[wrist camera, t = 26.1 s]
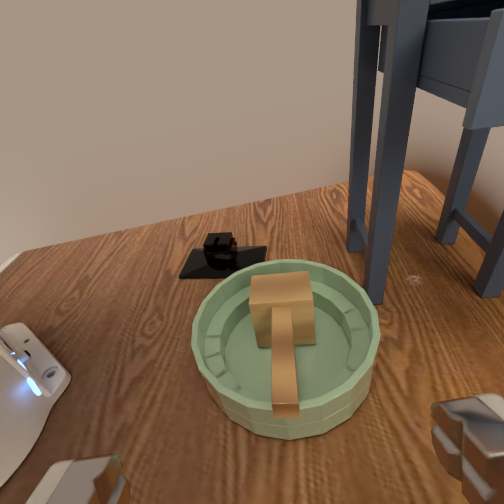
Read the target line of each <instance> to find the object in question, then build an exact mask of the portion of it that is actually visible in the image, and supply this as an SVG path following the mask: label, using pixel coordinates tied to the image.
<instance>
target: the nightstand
mask: <svg viewBox="0 0 504 504" xmlns="http://www.w3.org/2000/svg"><path fill="white" fill-rule="evenodd" d="M380 25H382V31H381V42H380V54H379V66H378V71H380V72H383V73H384V78H383V88H382V98H381V99H382V100H381V110H380V120H379V130H378V140H377V151H376V161H375V171H374V182H373V192H372V203H371V213H370V223H369V234H368V233H367V231H366V229H365V227H364V218H365V206H366V194H367V182H368V170H369V158H370V145H371V132H372V122H373V109H374V96H375V85H376V72H377V60H378V49H379V36H380ZM416 87H417V88H420V89H422V90H425V91H427V92H429V93H431V94H434V95H436V96H438V97H441V98H443V99H446V100H448V101H450V102H452V103H455V104H457V105H460V106H462V107H464V108H466V113H465V117H464V121H463V125H462V126H463V127H464V129H463V133H462V137H461V140H460V144H459V148H458V152H457V156H456V159H455V163H454V167H453V171H452V175H451V178H450V182H449V186H448V190H447V194H446V198H445V201H444V205H443V209H442V213H441V217H440V221H439V224H438V228H437V232H436V236H435V238H436V239H437V240H438V242H439V243H440V244H453V243H455V240H456V237H457V234H458V230H459V227H460V226H461V227H462V228H463V229H464V230H465V231H466V232H467V233H468V234H469V236H470V237H471V238H472V239H473V240H474V241H475V242H476V243H477V244H478V245H479V246H480V247H481V248H482V249H483V251H484V252H485V253H486V255H485V258H484V260H483V263H482V265H481V268H480V270H479V273H478V275H477V278H476V280H475V283H474V285H473V288H474V289H475V290H476V292H477V293H478V294H479V295H480V297H481V298H488V297H499V296H500V294H501V292H502V290H503V288H504V211H503V213H502V216H501V218H500V221H499V223H498V226H497V228H496V231H495V233H494V235H493V237H492V236H491V235H490V234H489V233H487V232H486V231H485V230H484V229H483V228H482V227H481V226H480V225H479V224H478V223H477V222H476V221H475V220H474V219H473V218H472V217H471V216H470V215H469V214H468V213H467V212H465V208H466V205H467V201H468V198H469V195H470V192H471V189H472V186H473V182H474V179H475V176H476V173H477V170H478V167H479V163H480V160H481V157H482V154H483V150H484V147H485V144H486V141H487V138H488V135H489V131H490V128H491V127H498V126H504V0H357V10H356V35H355V58H354V80H353V105H352V128H351V150H350V174H349V196H348V219H347V243H346V246H347V249H348V252H349V253H350V252H361V251H362V248H363V251H364V253H365V256H366V265H365V276H364V286H363V289H364V291H365V292H366V293H367V295H368V297H369V298H370V300H371V302H372V304H373V305H374V304H382V302H383V296H384V289H385V283H386V277H387V270H388V264H389V257H390V251H391V245H392V238H393V232H394V225H395V219H396V213H397V206H398V200H399V193H400V187H401V181H402V174H403V168H404V161H405V155H406V149H407V142H408V136H409V129H410V123H411V116H412V110H413V104H414V98H415V91H416Z"/></svg>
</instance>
